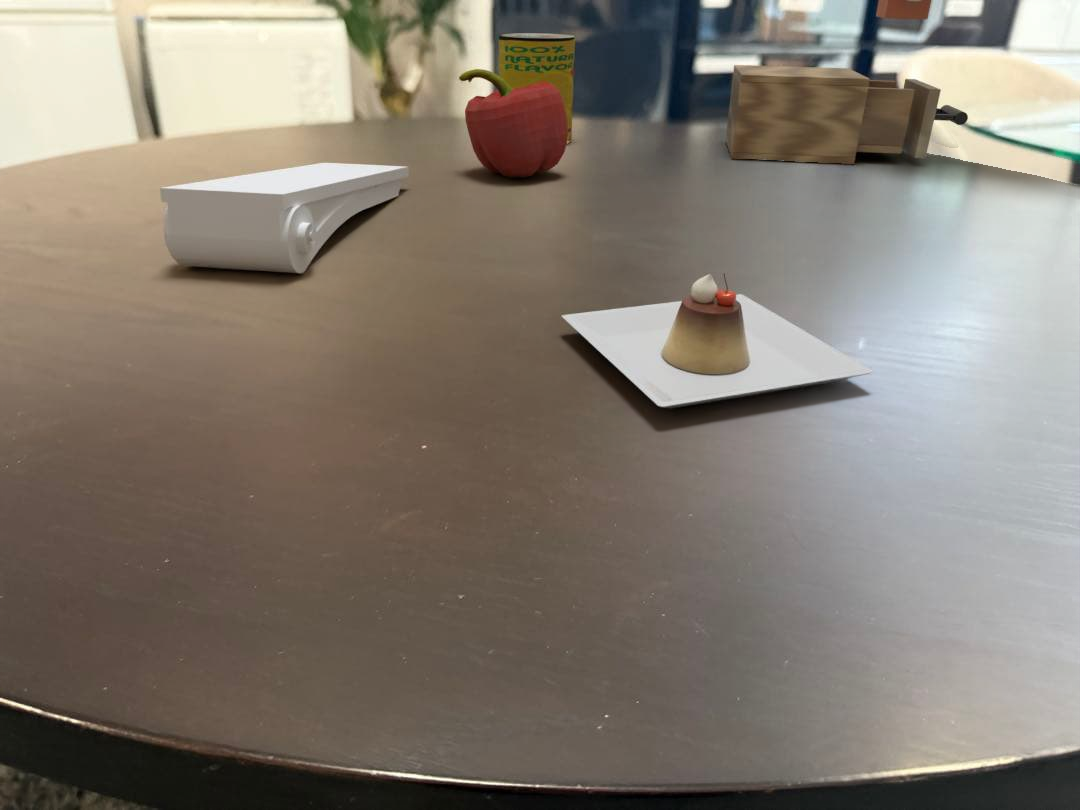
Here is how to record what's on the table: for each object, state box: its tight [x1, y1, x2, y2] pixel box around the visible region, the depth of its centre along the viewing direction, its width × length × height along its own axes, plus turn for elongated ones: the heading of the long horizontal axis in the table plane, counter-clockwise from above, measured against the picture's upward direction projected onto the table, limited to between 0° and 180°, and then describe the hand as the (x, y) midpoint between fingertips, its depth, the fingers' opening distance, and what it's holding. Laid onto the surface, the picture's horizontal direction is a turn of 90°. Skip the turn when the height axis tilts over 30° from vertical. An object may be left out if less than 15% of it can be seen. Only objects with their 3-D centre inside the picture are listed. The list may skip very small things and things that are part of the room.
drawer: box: [856, 78, 969, 160], centre depth 97 cm, size 17×10×7 cm, turn 82°
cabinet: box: [724, 64, 871, 165], centre depth 98 cm, size 14×12×9 cm
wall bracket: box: [159, 162, 410, 274], centre depth 67 cm, size 10×7×28 cm
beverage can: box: [498, 32, 576, 141], centre depth 101 cm, size 9×9×12 cm
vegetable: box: [458, 68, 568, 178], centre depth 84 cm, size 11×10×10 cm
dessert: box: [561, 272, 874, 409], centre depth 44 cm, size 12×12×5 cm
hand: (904, 0), depth 90 cm, fingers closed on block, 4 cm apart
